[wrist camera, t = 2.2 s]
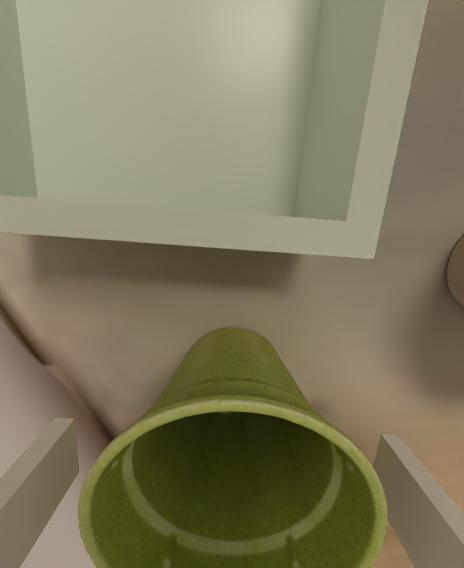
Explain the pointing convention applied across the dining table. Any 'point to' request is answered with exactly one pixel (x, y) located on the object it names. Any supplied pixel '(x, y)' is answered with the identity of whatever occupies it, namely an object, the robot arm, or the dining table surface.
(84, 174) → the box
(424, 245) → the dining table surface
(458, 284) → the coffee cup
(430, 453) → the dining table surface
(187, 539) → the plant pot
